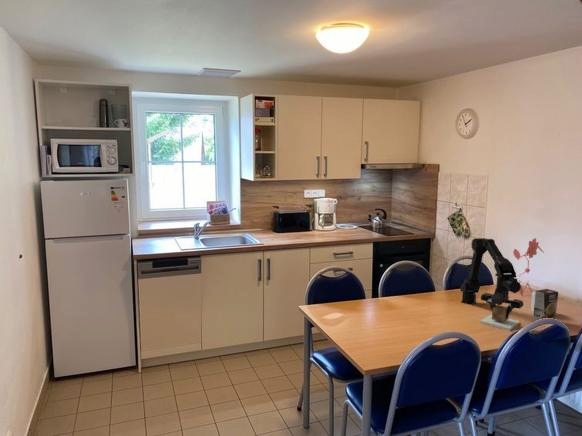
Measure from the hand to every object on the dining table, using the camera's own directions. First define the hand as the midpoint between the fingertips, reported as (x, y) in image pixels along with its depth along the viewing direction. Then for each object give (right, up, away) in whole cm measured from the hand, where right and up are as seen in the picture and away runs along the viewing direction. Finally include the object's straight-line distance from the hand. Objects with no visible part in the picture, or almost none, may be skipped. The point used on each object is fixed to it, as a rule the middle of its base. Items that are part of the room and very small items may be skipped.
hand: (500, 316), depth 225 cm
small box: (+28, -2, +16) cm, 32 cm away
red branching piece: (+40, +3, +48) cm, 62 cm away
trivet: (0, -3, 0) cm, 3 cm away
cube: (0, -1, 0) cm, 1 cm away
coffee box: (+24, -3, +3) cm, 24 cm away
